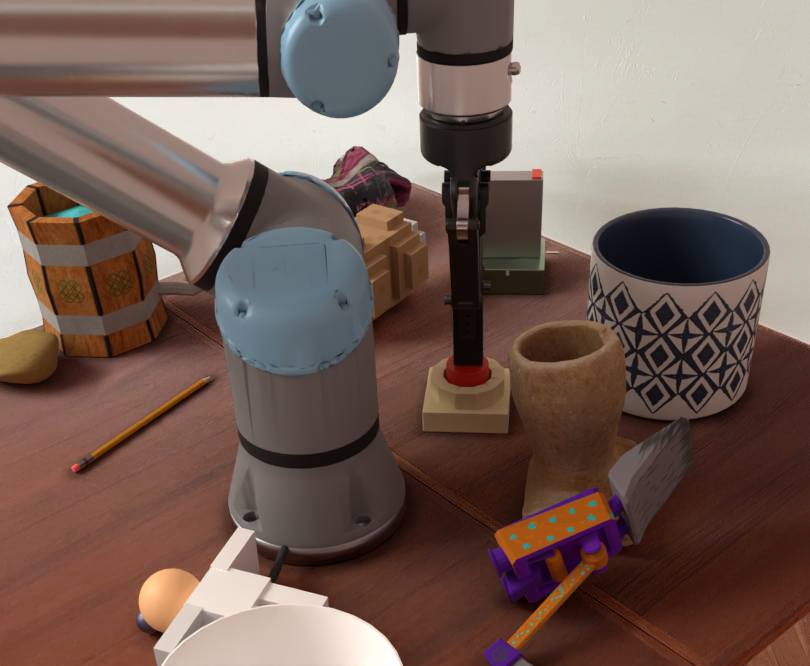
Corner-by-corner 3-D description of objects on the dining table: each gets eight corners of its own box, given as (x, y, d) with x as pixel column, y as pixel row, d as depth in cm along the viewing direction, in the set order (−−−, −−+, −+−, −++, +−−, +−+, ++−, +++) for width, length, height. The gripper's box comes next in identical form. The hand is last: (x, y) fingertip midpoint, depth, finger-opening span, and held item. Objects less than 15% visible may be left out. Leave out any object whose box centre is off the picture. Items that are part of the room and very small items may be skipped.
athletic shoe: (261, 219, 127) (357, 228, 123) (329, 102, 138) (420, 107, 134) (287, 294, 136) (378, 304, 132) (350, 179, 147) (435, 185, 143)
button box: (507, 433, 105) (508, 397, 103) (422, 431, 106) (421, 395, 104) (510, 387, 111) (511, 352, 109) (430, 385, 112) (429, 350, 110)
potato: (84, 339, 117) (41, 377, 111) (55, 381, 122) (12, 419, 116) (29, 292, 115) (-17, 329, 109) (2, 337, 120) (-43, 374, 114)
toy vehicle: (695, 471, 90) (787, 623, 82) (455, 578, 92) (521, 737, 83) (686, 407, 83) (786, 566, 74) (426, 524, 84) (495, 692, 76)
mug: (46, 368, 118) (5, 234, 108) (44, 308, 128) (7, 181, 118) (231, 335, 121) (208, 202, 111) (216, 280, 131) (193, 153, 121)
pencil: (77, 474, 103) (74, 466, 103) (72, 472, 104) (69, 465, 103) (216, 379, 115) (214, 372, 115) (211, 378, 115) (209, 371, 115)
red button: (487, 390, 105) (487, 374, 104) (445, 390, 105) (444, 374, 104) (489, 368, 108) (489, 352, 107) (448, 367, 108) (447, 351, 107)
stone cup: (516, 440, 104) (520, 294, 94) (647, 452, 102) (665, 304, 92) (489, 545, 93) (490, 392, 83) (634, 562, 91) (653, 406, 81)
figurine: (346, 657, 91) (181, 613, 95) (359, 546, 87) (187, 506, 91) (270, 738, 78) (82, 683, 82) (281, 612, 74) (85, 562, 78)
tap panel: (557, 301, 124) (559, 275, 122) (456, 300, 125) (456, 274, 123) (558, 255, 132) (559, 230, 130) (463, 254, 134) (462, 229, 132)
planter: (571, 342, 117) (579, 211, 108) (723, 333, 117) (744, 202, 108) (596, 429, 105) (607, 290, 96) (766, 420, 105) (793, 280, 96)
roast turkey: (449, 287, 127) (447, 203, 121) (353, 360, 116) (346, 271, 110) (377, 267, 132) (372, 184, 125) (279, 334, 121) (268, 248, 114)
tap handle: (477, 257, 126) (477, 177, 120) (478, 247, 128) (478, 168, 122) (540, 257, 126) (543, 177, 120) (540, 247, 127) (543, 168, 121)
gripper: (510, 136, 85) (506, 400, 100) (515, 77, 95) (511, 326, 110) (410, 137, 86) (422, 398, 101) (426, 79, 95) (434, 325, 111)
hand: (468, 360), depth 105 cm, fingers closed
